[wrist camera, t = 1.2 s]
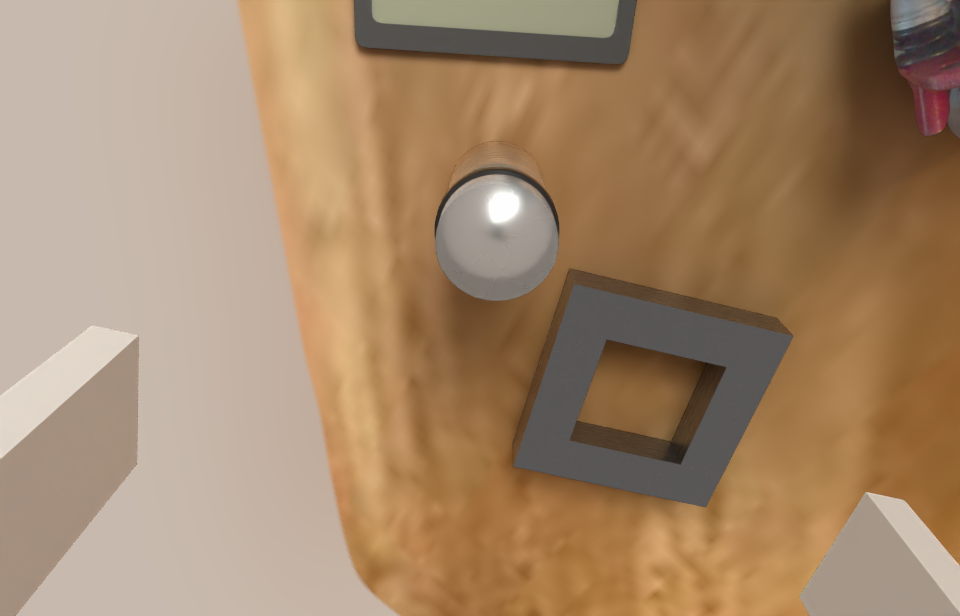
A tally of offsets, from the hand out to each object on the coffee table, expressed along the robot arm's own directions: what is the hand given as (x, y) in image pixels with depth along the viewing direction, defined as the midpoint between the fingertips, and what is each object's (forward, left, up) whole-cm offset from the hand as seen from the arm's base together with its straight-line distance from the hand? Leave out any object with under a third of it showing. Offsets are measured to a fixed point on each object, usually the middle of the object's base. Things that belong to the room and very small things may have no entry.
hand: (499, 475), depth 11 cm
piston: (0, 0, -20) cm, 20 cm away
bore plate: (+8, +10, -20) cm, 24 cm away
